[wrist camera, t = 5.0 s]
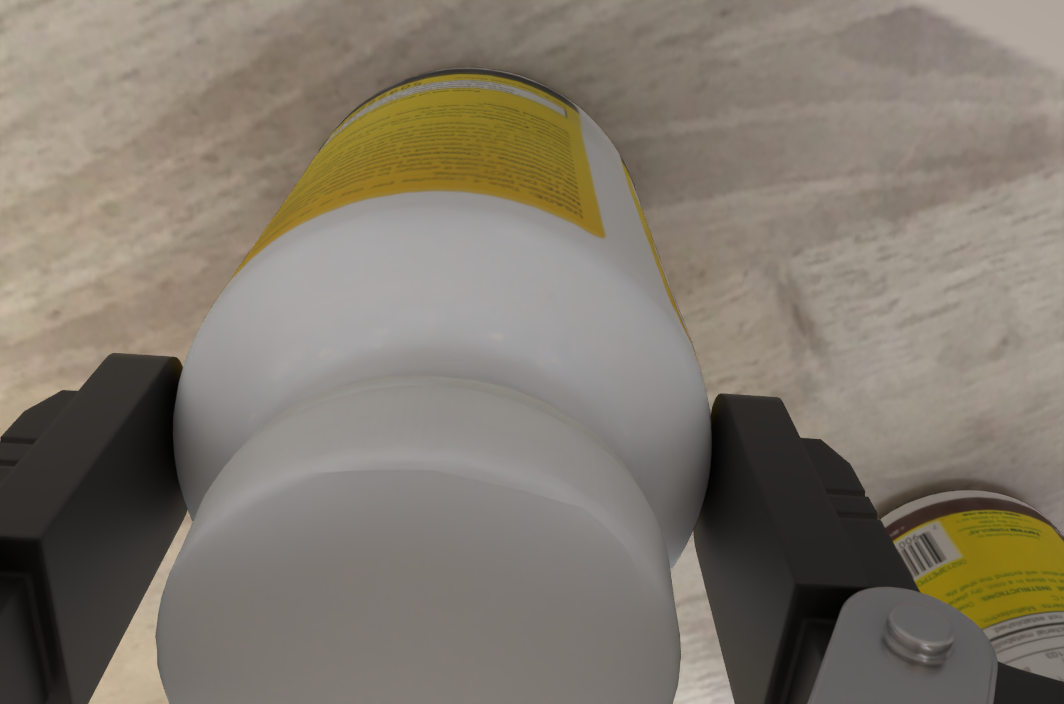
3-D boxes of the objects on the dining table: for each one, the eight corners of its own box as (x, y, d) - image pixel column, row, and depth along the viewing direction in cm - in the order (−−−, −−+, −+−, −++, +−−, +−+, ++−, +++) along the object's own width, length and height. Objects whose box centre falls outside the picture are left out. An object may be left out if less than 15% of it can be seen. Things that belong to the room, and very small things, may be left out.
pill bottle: (246, 142, 18) (-132, 517, 8) (565, 0, 17) (632, 213, 6) (401, 416, 21) (277, 967, 10) (684, 309, 20) (865, 806, 9)
